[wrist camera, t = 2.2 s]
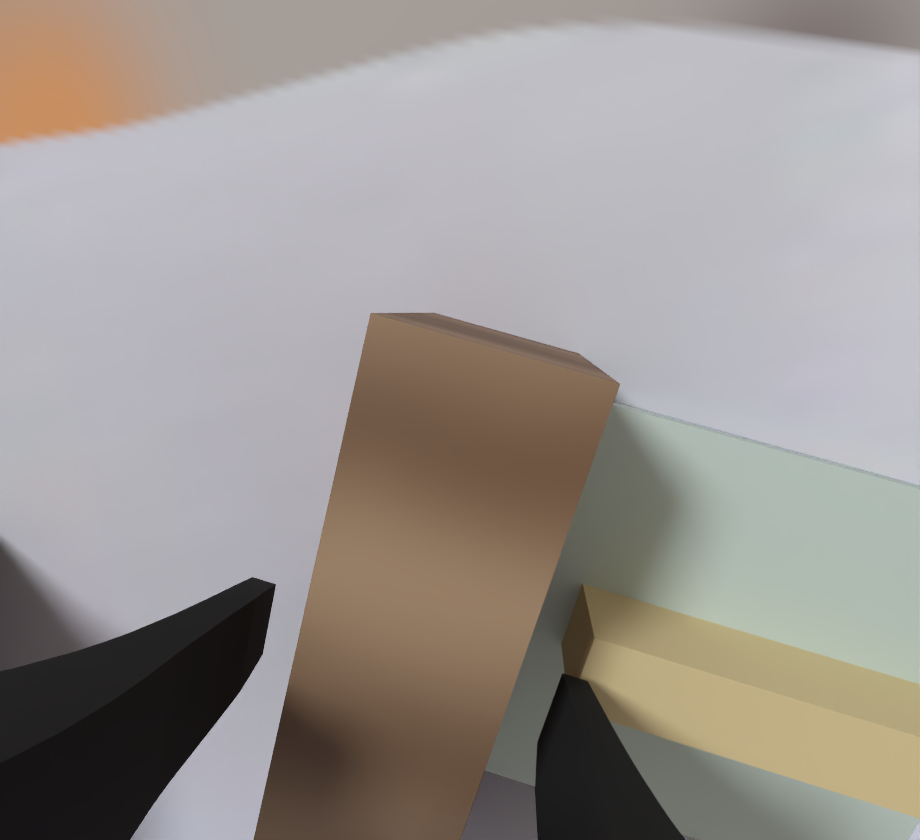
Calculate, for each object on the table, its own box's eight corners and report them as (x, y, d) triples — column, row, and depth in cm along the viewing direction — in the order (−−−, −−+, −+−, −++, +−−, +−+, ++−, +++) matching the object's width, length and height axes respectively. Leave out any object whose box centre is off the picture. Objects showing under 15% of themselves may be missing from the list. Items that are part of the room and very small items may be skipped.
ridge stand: (860, 874, 15) (937, 1004, 13) (483, 753, 16) (474, 849, 13) (1066, 526, 13) (1229, 590, 10) (600, 398, 13) (622, 422, 11)
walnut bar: (430, 806, 17) (383, 1059, 11) (320, 769, 17) (218, 997, 12) (577, 353, 14) (619, 383, 8) (435, 312, 14) (370, 312, 8)
